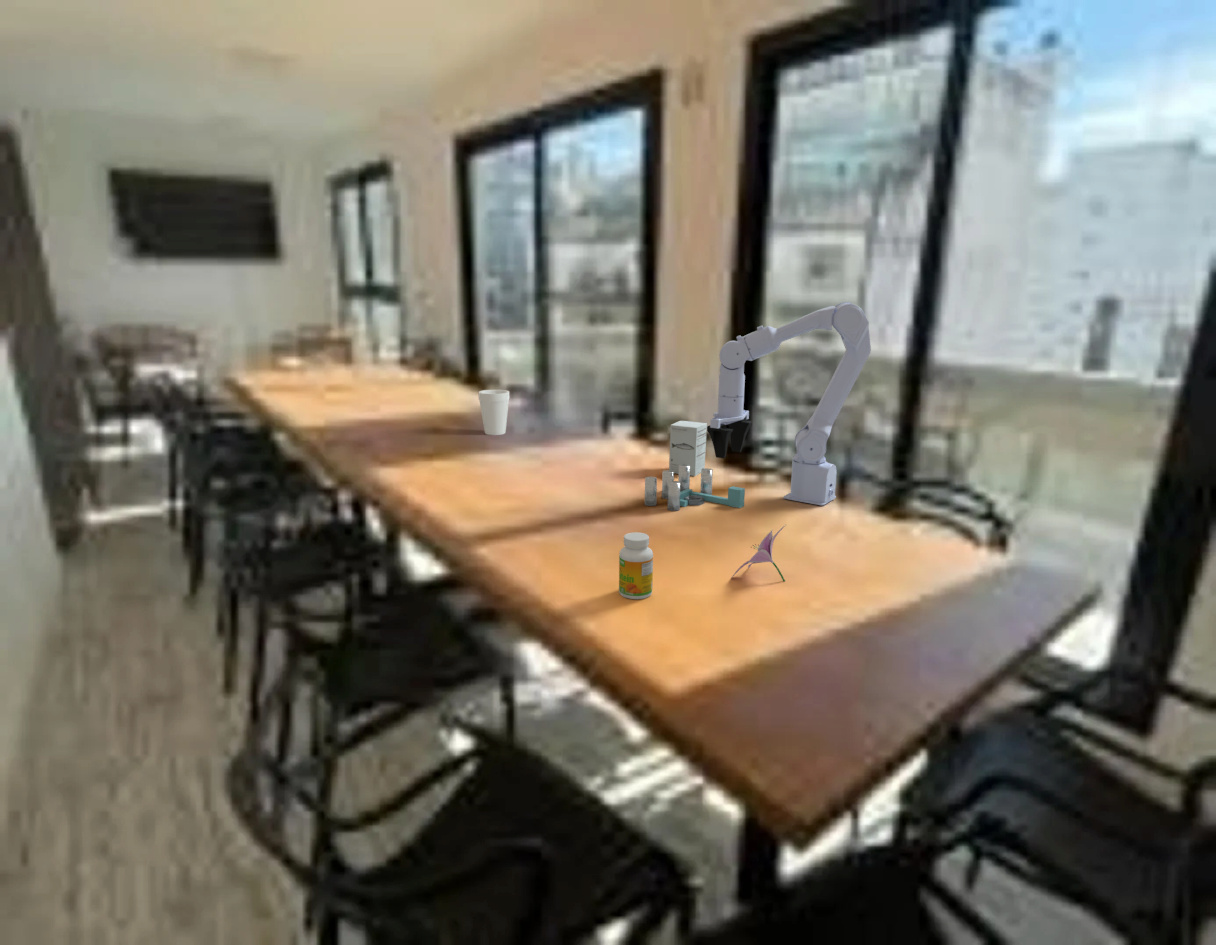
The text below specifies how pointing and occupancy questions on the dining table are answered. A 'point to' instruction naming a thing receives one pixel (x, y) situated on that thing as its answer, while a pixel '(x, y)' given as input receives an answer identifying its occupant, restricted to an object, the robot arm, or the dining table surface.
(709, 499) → the hook tool
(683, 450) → the supplement box
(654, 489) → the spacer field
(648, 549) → the supplement bottle
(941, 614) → the dining table surface
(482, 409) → the foam cup
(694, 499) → the grey flat hexagonal block
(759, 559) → the lily
